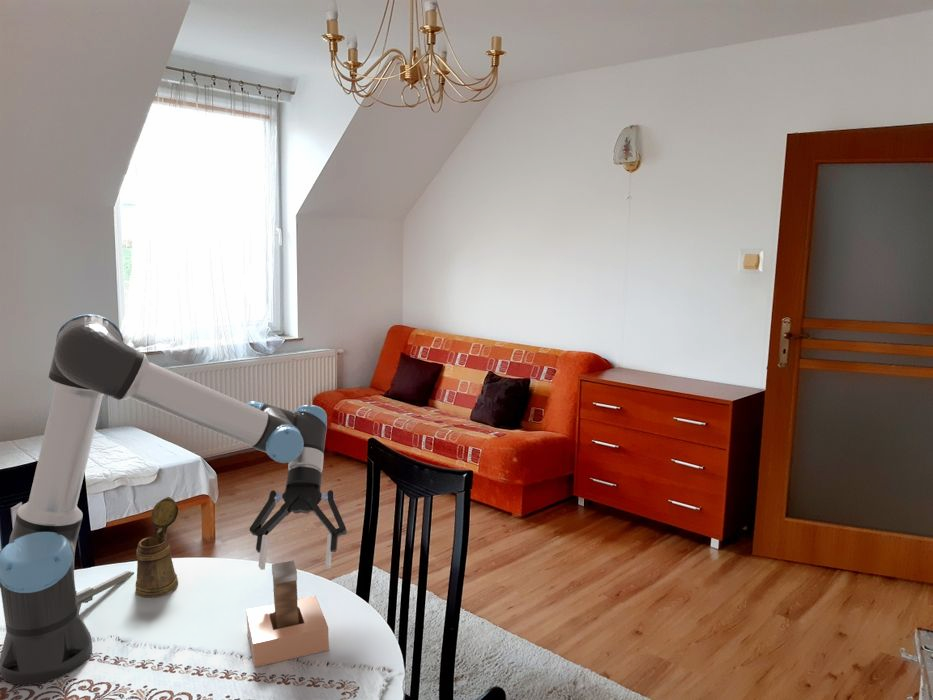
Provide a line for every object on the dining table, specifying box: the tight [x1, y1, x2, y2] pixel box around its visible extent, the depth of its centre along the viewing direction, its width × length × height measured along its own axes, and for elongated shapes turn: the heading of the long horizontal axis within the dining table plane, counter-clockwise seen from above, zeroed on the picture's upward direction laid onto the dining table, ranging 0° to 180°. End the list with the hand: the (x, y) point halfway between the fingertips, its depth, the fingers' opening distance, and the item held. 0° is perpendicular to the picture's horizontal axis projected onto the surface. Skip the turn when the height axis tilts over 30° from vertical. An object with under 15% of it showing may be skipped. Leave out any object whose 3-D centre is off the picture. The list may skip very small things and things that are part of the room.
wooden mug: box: [134, 496, 179, 599], centre depth 161 cm, size 9×14×18 cm, turn 177°
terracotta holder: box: [245, 595, 330, 668], centre depth 141 cm, size 14×12×5 cm
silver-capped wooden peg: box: [271, 559, 298, 629], centre depth 140 cm, size 4×4×16 cm
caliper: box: [76, 570, 135, 614], centre depth 156 cm, size 20×1×6 cm, turn 169°
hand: (294, 567), depth 148 cm, fingers open, 13 cm apart
